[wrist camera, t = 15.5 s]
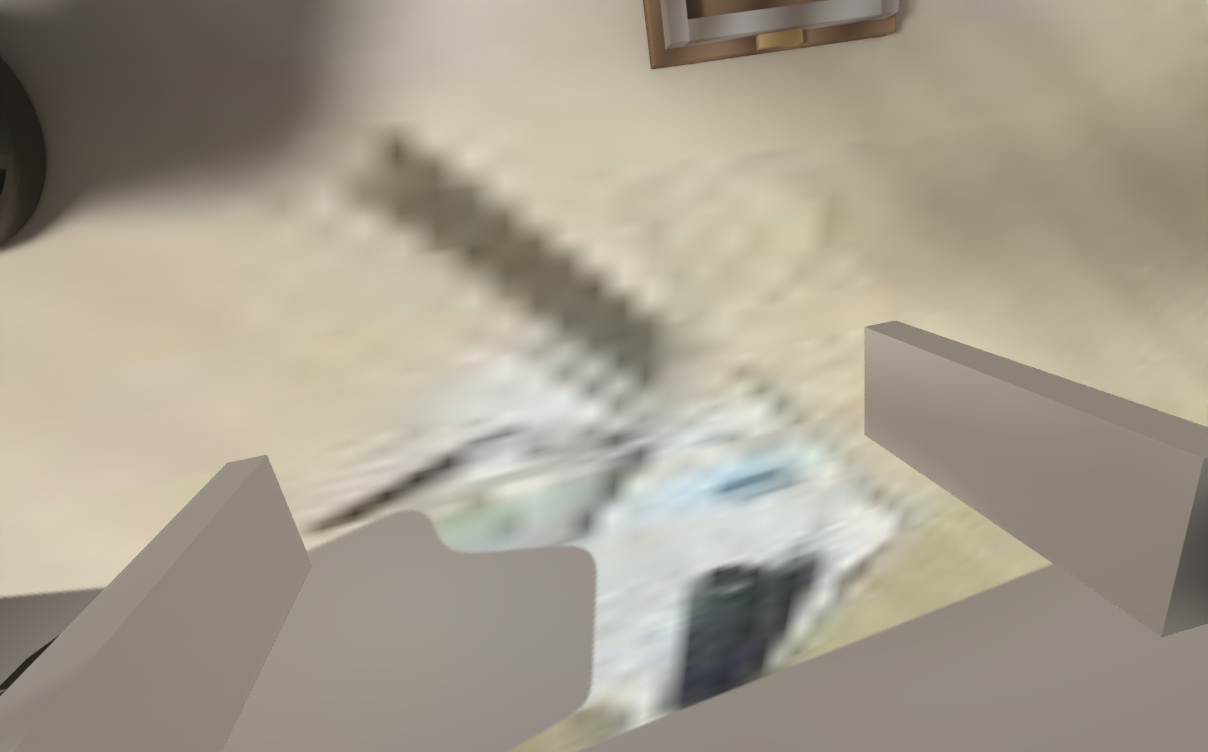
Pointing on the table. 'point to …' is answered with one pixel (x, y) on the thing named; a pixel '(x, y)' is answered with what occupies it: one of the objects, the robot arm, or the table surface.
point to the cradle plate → (757, 26)
